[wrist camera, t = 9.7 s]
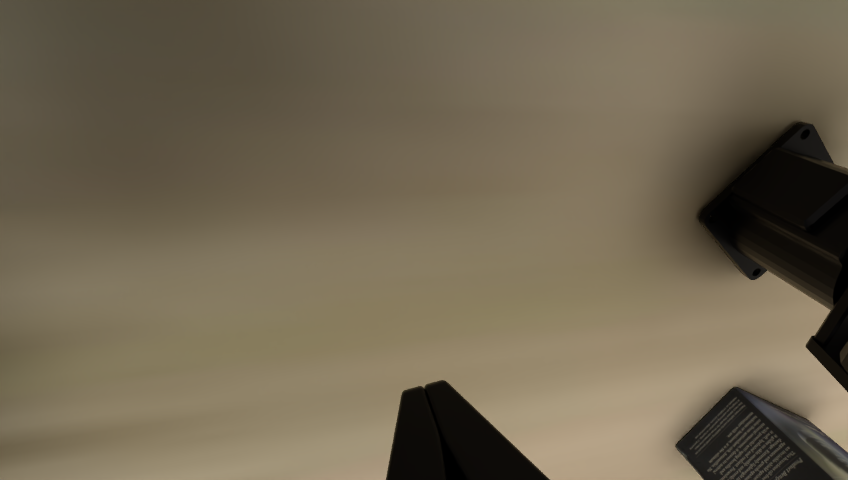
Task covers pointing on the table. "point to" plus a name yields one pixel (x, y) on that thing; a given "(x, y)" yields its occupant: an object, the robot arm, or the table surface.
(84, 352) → the table surface
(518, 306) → the table surface
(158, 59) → the table surface
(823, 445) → the small box
